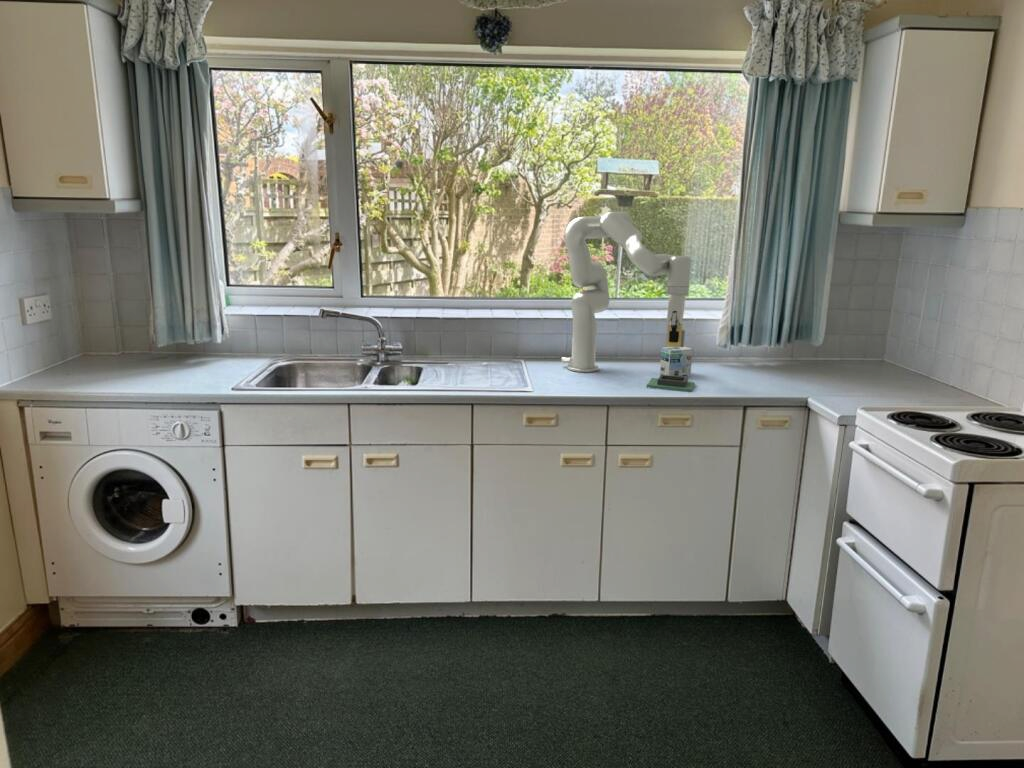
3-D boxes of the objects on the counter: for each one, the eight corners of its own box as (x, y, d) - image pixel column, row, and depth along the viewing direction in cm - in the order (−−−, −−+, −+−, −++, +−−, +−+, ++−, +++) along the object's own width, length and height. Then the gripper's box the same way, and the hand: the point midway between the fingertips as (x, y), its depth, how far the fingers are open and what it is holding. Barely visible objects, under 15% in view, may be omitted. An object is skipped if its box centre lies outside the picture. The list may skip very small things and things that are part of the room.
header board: (646, 387, 266) (647, 379, 266) (651, 380, 277) (652, 372, 277) (691, 392, 261) (691, 383, 260) (694, 384, 272) (695, 376, 271)
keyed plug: (666, 346, 265) (667, 324, 263) (667, 344, 268) (669, 322, 266) (683, 347, 263) (684, 325, 261) (684, 345, 266) (685, 324, 264)
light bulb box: (668, 377, 283) (670, 350, 280) (658, 373, 289) (660, 346, 286) (691, 375, 287) (693, 348, 284) (681, 371, 293) (683, 345, 290)
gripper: (670, 287, 270) (667, 336, 274) (664, 292, 254) (660, 344, 259) (691, 288, 267) (687, 338, 272) (686, 293, 252) (682, 345, 256)
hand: (674, 340), depth 265 cm, fingers closed on keyed plug, 4 cm apart
